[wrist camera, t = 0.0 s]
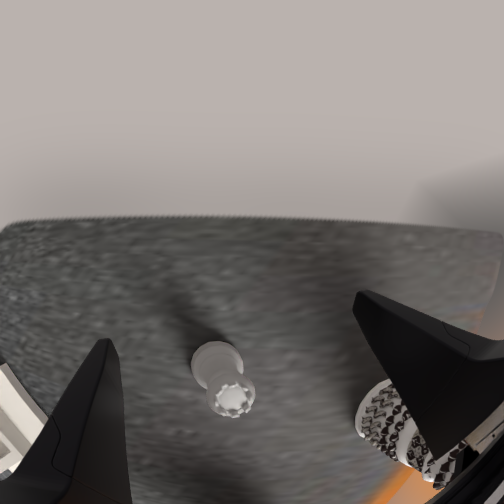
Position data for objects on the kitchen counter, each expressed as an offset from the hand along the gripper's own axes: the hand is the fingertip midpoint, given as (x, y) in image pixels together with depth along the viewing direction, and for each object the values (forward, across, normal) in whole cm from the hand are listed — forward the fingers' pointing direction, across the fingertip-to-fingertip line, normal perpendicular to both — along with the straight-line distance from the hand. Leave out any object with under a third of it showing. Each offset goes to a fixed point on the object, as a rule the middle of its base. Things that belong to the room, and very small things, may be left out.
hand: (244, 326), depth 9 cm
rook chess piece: (+9, 0, +13) cm, 16 cm away
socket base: (+6, +24, +19) cm, 31 cm away
